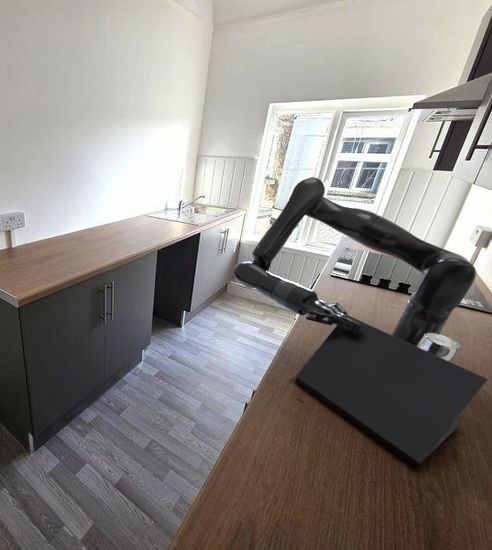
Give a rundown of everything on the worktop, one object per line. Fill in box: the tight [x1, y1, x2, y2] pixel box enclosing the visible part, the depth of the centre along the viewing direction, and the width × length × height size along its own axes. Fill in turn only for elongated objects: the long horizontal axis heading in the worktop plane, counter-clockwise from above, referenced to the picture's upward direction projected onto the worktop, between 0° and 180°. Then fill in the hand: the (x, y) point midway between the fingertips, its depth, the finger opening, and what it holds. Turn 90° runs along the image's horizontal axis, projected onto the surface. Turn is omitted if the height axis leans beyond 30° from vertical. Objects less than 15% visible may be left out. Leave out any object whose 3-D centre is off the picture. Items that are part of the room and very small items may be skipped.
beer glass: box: [416, 333, 461, 363], centre depth 78 cm, size 7×7×15 cm
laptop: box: [294, 377, 461, 471], centre depth 73 cm, size 21×26×2 cm
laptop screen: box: [295, 314, 488, 464], centre depth 68 cm, size 21×26×1 cm
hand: (358, 328), depth 72 cm, fingers closed
